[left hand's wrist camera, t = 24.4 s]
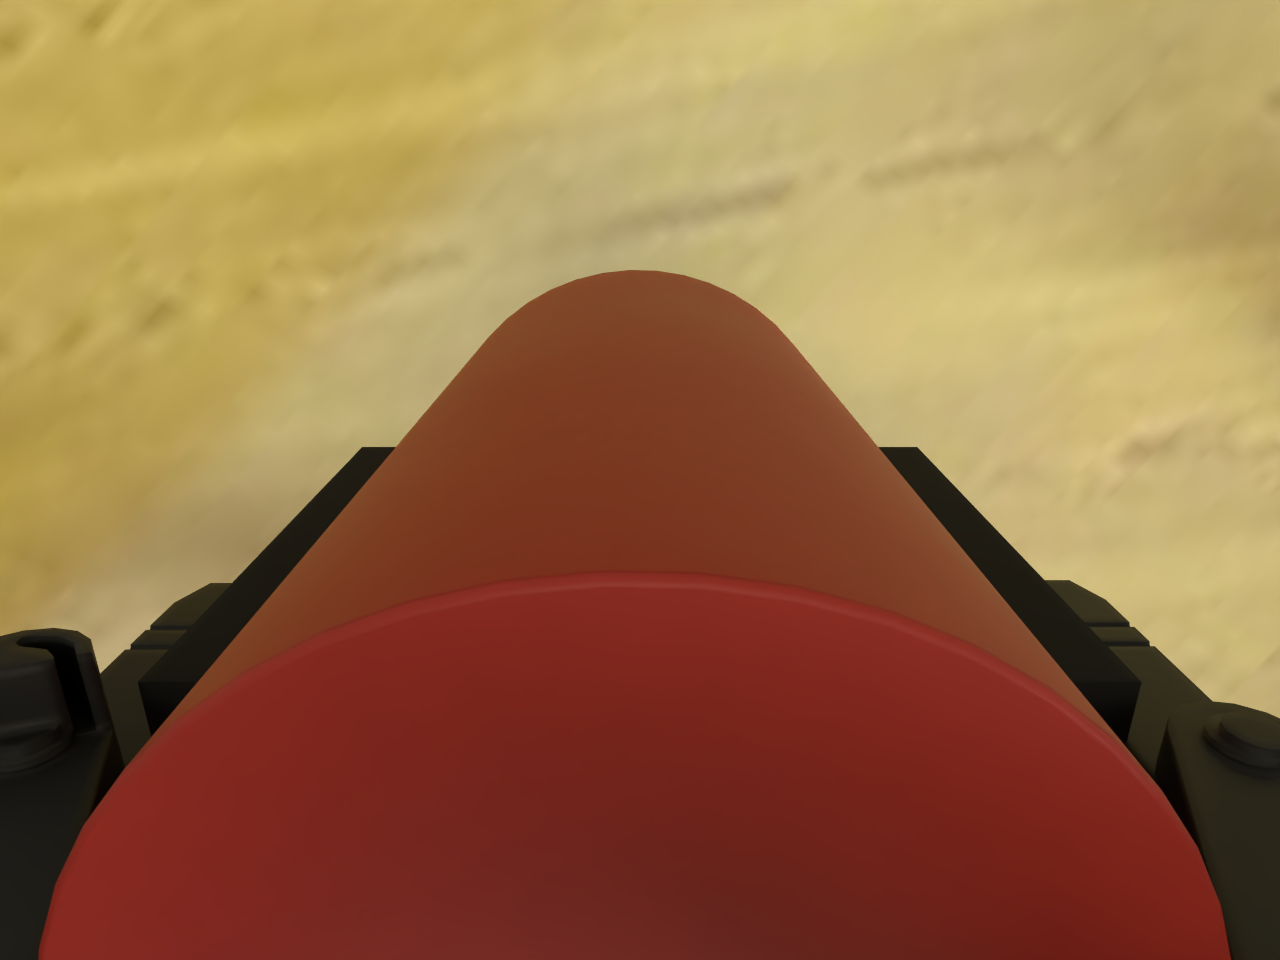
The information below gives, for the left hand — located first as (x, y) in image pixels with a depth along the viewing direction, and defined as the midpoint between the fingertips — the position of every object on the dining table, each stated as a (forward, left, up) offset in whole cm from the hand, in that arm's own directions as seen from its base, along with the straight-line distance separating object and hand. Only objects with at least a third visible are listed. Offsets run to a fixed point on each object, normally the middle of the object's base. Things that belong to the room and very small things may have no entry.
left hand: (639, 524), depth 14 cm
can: (0, 0, -3) cm, 3 cm away
